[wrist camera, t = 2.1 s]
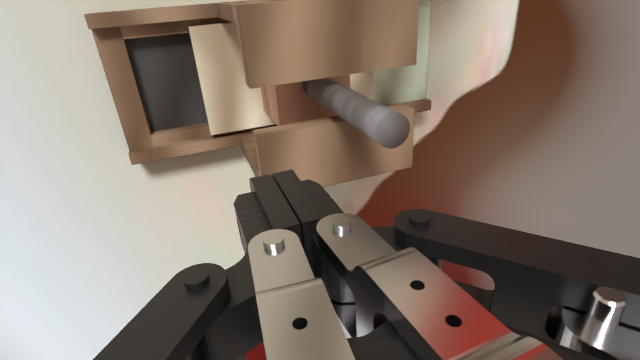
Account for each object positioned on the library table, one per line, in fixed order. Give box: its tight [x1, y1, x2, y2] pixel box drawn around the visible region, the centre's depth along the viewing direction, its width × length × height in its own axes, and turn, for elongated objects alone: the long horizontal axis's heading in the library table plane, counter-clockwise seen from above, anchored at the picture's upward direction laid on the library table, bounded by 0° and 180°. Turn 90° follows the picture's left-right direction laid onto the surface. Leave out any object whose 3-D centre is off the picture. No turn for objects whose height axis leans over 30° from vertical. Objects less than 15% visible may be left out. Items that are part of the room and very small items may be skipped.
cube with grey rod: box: [188, 22, 410, 149], centre depth 27 cm, size 16×9×19 cm, turn 94°
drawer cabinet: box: [84, 0, 431, 187], centre depth 31 cm, size 30×12×14 cm, turn 95°
